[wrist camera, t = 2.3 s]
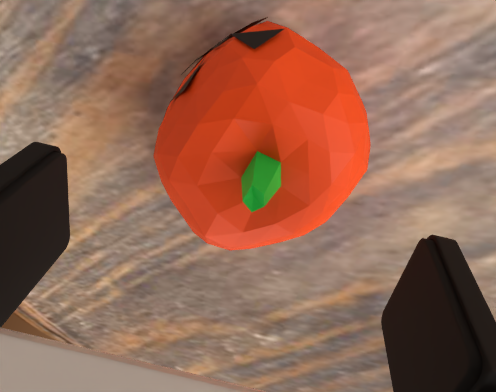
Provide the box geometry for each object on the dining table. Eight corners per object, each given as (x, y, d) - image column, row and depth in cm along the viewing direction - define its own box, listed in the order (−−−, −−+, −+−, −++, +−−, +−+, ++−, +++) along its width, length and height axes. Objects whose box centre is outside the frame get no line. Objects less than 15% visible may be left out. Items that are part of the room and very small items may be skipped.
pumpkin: (151, 156, 18) (82, 246, 13) (235, -23, 14) (185, 0, 9) (291, 231, 20) (280, 344, 14) (406, 84, 15) (455, 163, 10)
